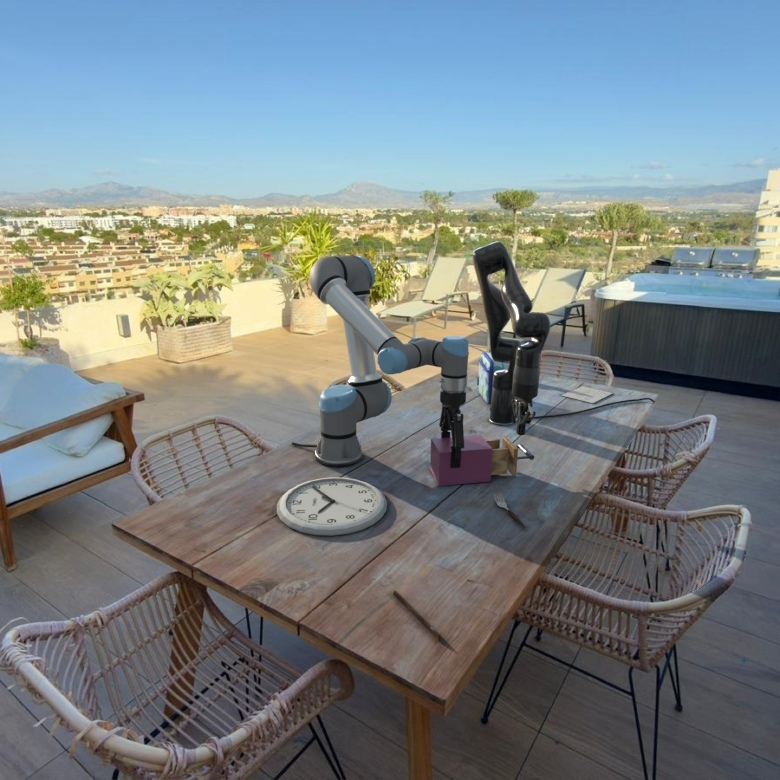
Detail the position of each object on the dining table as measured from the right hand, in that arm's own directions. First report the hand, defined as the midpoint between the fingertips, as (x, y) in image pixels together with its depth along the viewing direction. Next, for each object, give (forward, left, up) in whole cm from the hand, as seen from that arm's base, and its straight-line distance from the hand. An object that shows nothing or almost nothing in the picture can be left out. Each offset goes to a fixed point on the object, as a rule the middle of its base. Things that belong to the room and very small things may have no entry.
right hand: (520, 434), depth 160 cm
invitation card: (-70, -67, -13) cm, 98 cm away
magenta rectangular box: (+18, -2, -13) cm, 23 cm away
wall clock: (+59, +7, -13) cm, 61 cm away
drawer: (+7, -1, -12) cm, 13 cm away
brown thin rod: (+50, +53, -13) cm, 74 cm away
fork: (+14, +22, -13) cm, 29 cm away
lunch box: (-24, -69, -13) cm, 74 cm away
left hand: (+22, -2, -7) cm, 23 cm away
